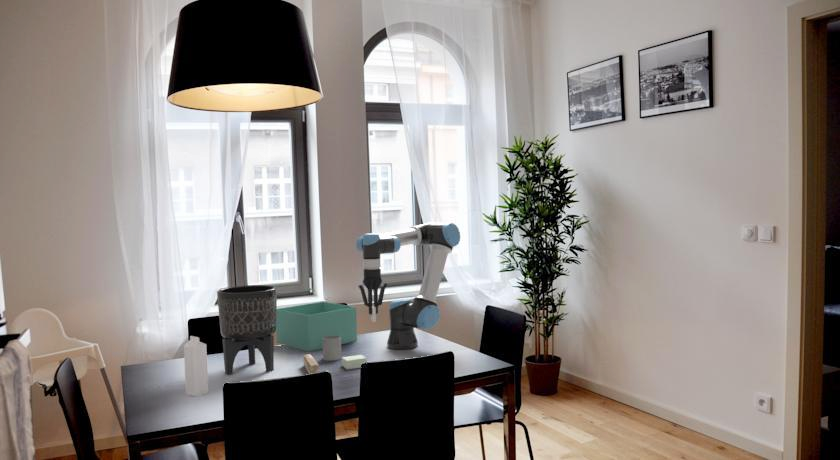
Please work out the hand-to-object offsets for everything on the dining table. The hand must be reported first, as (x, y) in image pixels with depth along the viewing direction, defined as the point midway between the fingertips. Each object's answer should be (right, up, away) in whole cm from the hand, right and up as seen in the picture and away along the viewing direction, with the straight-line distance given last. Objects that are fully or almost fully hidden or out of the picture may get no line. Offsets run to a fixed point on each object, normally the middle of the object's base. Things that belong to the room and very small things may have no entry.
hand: (373, 321), depth 272 cm
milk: (-65, -23, -36) cm, 78 cm away
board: (-26, -20, -9) cm, 34 cm away
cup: (-20, -19, +13) cm, 31 cm away
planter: (-54, -21, -3) cm, 58 cm away
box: (-33, -18, +48) cm, 61 cm away
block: (-8, -20, -2) cm, 21 cm away
